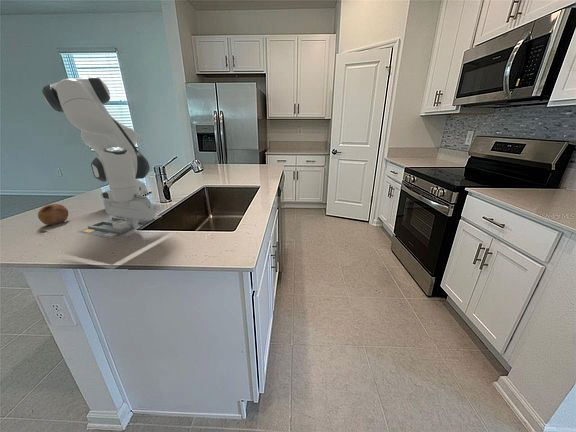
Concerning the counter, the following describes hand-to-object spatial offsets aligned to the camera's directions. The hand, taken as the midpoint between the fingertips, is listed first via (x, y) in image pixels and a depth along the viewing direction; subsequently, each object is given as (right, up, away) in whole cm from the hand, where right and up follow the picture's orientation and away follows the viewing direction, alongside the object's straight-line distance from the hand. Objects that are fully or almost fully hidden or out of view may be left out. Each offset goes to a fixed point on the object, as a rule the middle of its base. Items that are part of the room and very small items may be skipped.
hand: (134, 228), depth 93 cm
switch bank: (-10, 0, +9) cm, 13 cm away
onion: (-40, +1, +10) cm, 41 cm away
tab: (-7, -1, +2) cm, 7 cm away
